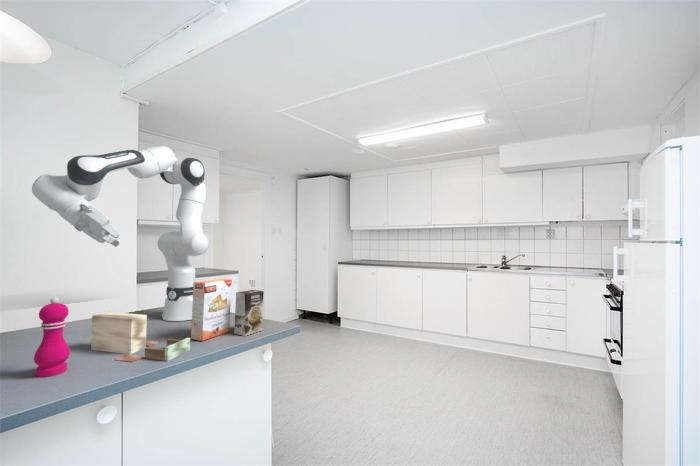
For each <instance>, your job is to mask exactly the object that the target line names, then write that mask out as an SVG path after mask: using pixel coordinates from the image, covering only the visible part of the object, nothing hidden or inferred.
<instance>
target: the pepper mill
mask: <svg viewBox="0 0 700 466" xmlns="http://www.w3.org/2000/svg"><path fill="white" fill-rule="evenodd" d="M59 301H60V300H59V298H58V297H52V298H51V299H50V300H49V302H50V303H48V304H46V305H44V306H42V307H41V309H40V310H39V311H38V318H39V319H40V320H41V323H40V325H41V326H40V329H41V330H42V339H41V342H40V344H39V346H38V347H37V349H36V351H35V353H34V356H33V362H34V363H35V364H36V365H37V367H36V368H35V376H36V377H38V378H45V377H47V378H48V377H54V376H57V375H60V374H63V373H65V372H66V371H67V369H68V363H67V362H66V361H67V360H68V359H69V357H70V355H71V353H70V347H69V345H68V343H67V342H66V340H65V338H64V327H66V325H67V323H66V322H67V321H66V318H68V315H69V313H70V312H69V308H68V306H67V305H66V304H64V303H60V302H59Z"/></svg>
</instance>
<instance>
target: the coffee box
mask: <svg viewBox="0 0 700 466" xmlns="http://www.w3.org/2000/svg"><path fill="white" fill-rule="evenodd" d="M264 292H265V291H264V290H259V289H258V290H256V289H255V290H254V289H250V290H244V291H243V290H242V291H237V292H236V293H235V307H234V308H235V310H234V311H235V313H234V332H233V334H235V335H238V336H243V337H248V336H250V334H251V335H254V334H257V333H260V332H259V331H261V332H263V321H264V320H263V317H264ZM256 332H257V333H256ZM253 333H254V334H253ZM247 335H248V336H247Z"/></svg>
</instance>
